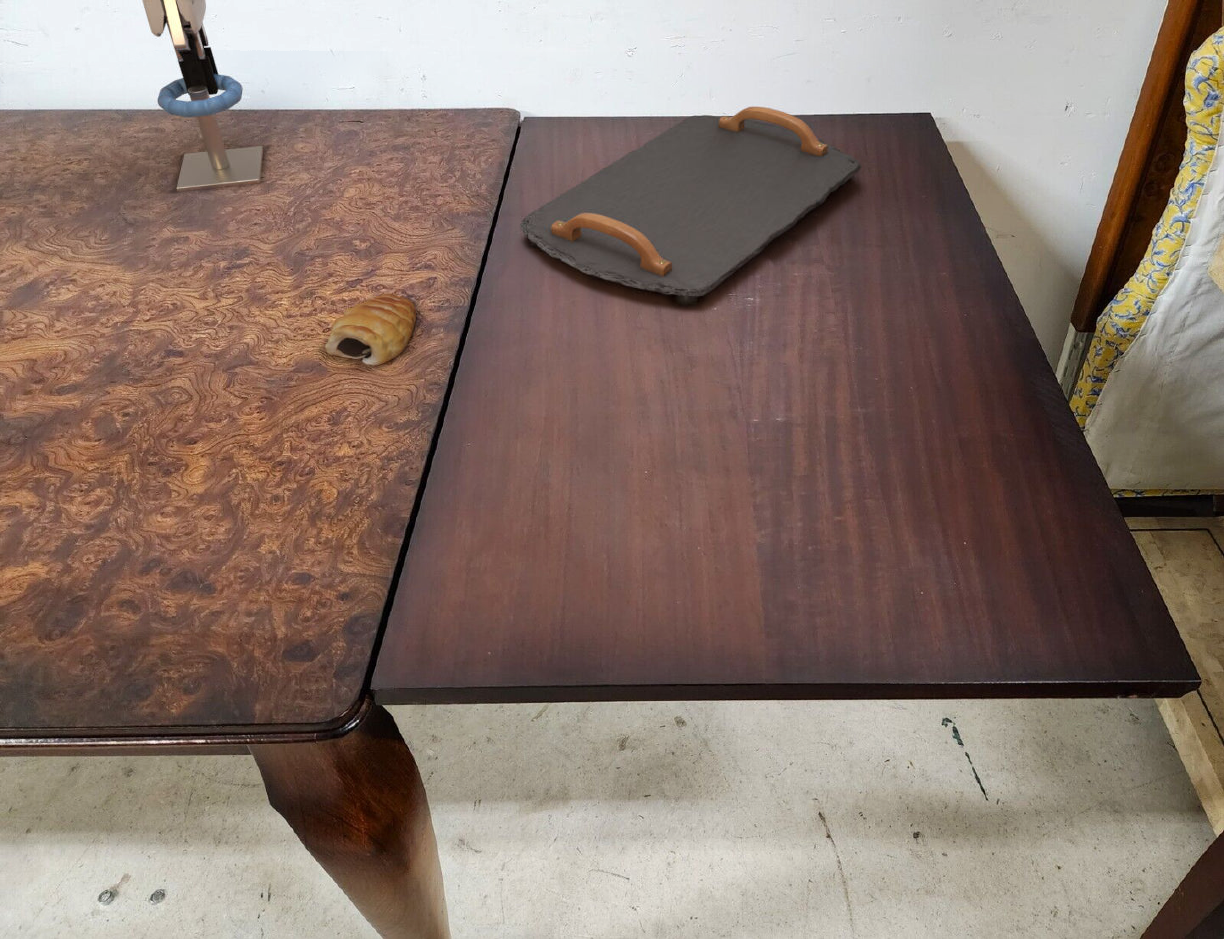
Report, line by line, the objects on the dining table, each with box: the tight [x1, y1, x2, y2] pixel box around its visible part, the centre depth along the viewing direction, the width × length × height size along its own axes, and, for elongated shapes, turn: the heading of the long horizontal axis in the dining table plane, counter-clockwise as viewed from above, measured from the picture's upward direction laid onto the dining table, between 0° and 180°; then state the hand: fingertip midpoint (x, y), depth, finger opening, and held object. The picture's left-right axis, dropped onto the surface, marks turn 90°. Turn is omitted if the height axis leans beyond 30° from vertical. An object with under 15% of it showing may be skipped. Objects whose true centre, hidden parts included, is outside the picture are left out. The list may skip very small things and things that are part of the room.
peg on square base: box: [176, 85, 264, 193], centre depth 110 cm, size 9×9×10 cm
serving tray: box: [519, 106, 862, 307], centre depth 104 cm, size 39×23×6 cm, turn 143°
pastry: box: [324, 293, 417, 366], centre depth 88 cm, size 9×7×4 cm
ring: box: [157, 73, 244, 118], centre depth 108 cm, size 9×9×2 cm
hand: (204, 88), depth 110 cm, fingers closed on ring, 2 cm apart
